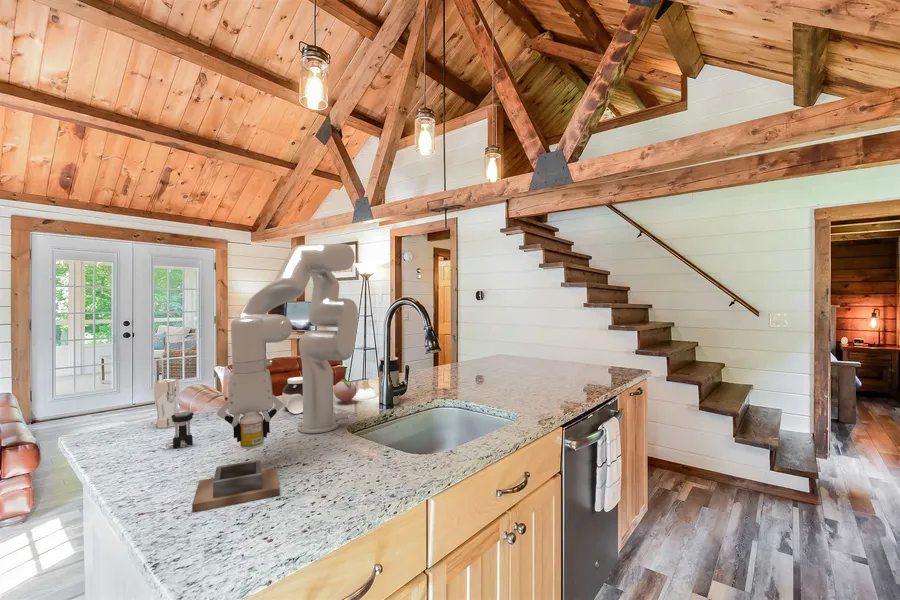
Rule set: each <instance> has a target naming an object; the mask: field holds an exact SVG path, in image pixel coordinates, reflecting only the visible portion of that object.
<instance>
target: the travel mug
mask: <svg viewBox="0 0 900 600" xmlns="http://www.w3.org/2000/svg"><path fill="white" fill-rule="evenodd" d="M384 357H385V356H384ZM384 357H380V358H379V361H380V364H379V366H378V400H379V401H380V388H381V382H382V379H383V376H382V375H383V365H384ZM389 357H390V375H391V376H390V377H391V380H392V384H393V386H394V387H396V386H398V385H399V386H400V366H399V363H398V360H399V357H397V356H389ZM379 401H378V402H379ZM393 401H394V405H397V404H399V403H400V394H399V395H398V396H394V398H393Z"/></svg>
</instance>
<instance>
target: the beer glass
mask: <svg viewBox="0 0 900 600" xmlns="http://www.w3.org/2000/svg"><path fill="white" fill-rule="evenodd" d="M153 388H154V390H153V399H154V405H155V409H156V415H157V419H156V424H155V427H156V428H157V429H169V428H173V427H175V422H173V421H172V418H171V416H172V415H174V414H175V412H176V411H178V407H179V400H180V382H179V379H178V378H164V379H159V380H155V381H154V387H153ZM168 417H169V418H168ZM172 426H173V427H172Z"/></svg>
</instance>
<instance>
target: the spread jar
mask: <svg viewBox="0 0 900 600" xmlns="http://www.w3.org/2000/svg"><path fill="white" fill-rule="evenodd" d="M281 395H282V396H281V397H282V401H281V402H282V403H283V408H284V409H285V410H286V411H288V412H290V413H291V414H293V415H298V414H301V413H303V376H296V377H295V376H294V377H289V378H287V384H286V385H285V386H284V387H283V390H282V394H281Z"/></svg>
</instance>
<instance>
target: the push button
mask: <svg viewBox="0 0 900 600" xmlns="http://www.w3.org/2000/svg"><path fill="white" fill-rule="evenodd" d="M193 416H194V412H191V410H190V409H179V410H177V411H176V412H175V414H174V415H172V416H171V418H172V421H173V422H175V426H174V427H175V428H174V429H175V430H174V431H175V433H174V435H173V438H172V441H171V442H166V443H165V445H166V446H165V448H173V449H178V448H177V447H180V448H185V447H187V446H186V445H192V446H193V445H194V444H193V443H194V442H193V441H194V440H193V439H194V438H193V434H192V432H191V420H192V419H193V418H194V417H193ZM171 444H172V445H171ZM167 445H168V446H167Z"/></svg>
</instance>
